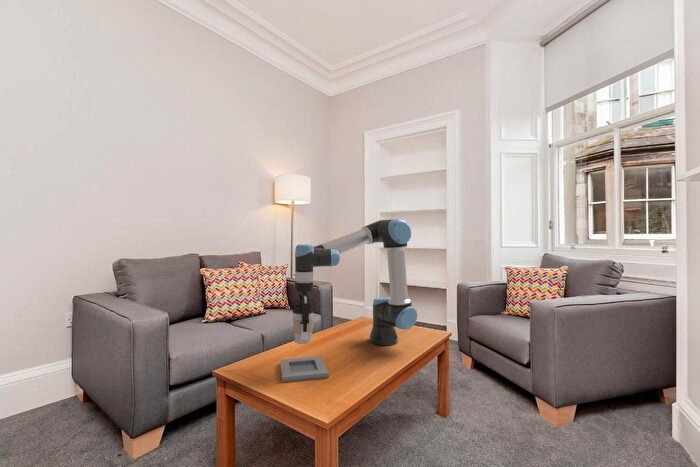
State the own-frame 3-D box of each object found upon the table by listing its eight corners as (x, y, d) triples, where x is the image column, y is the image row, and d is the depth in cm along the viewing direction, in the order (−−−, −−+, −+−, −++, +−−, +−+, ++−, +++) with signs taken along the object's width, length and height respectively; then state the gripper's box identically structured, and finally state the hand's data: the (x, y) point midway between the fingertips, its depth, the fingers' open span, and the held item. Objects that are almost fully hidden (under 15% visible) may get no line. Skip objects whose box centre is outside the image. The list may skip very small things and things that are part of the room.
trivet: (320, 360, 149) (320, 356, 149) (328, 377, 132) (328, 372, 132) (280, 364, 145) (280, 359, 144) (282, 382, 127) (282, 377, 127)
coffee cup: (309, 345, 133) (310, 308, 133) (288, 344, 134) (289, 307, 134) (316, 338, 141) (317, 303, 141) (296, 337, 143) (297, 302, 143)
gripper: (292, 278, 147) (292, 329, 147) (297, 285, 127) (296, 345, 127) (309, 277, 149) (308, 328, 149) (316, 285, 128) (316, 343, 129)
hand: (303, 335), depth 138 cm, fingers closed on coffee cup, 8 cm apart
